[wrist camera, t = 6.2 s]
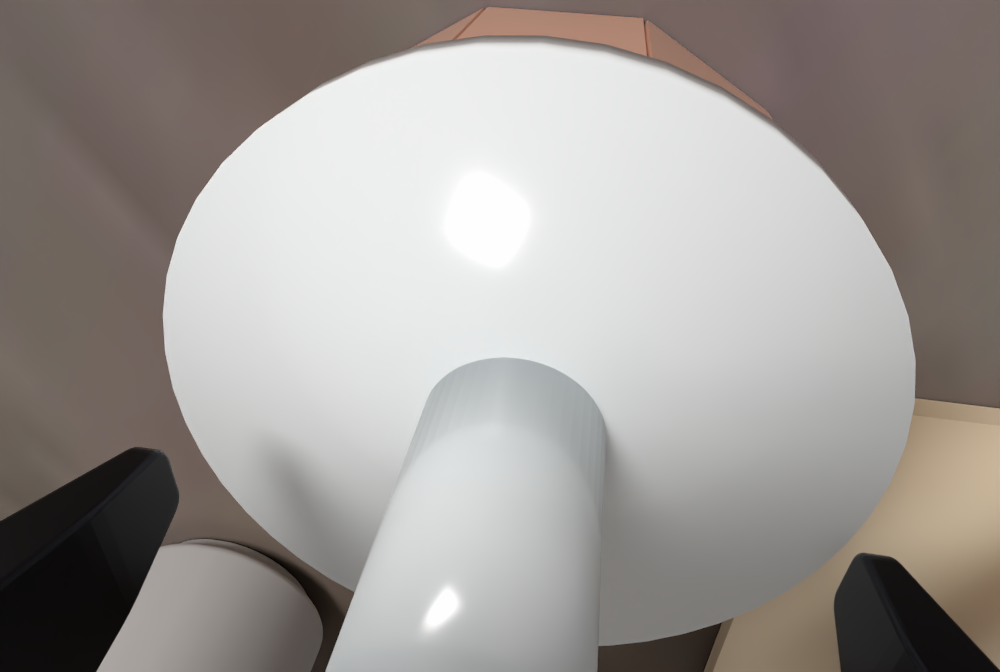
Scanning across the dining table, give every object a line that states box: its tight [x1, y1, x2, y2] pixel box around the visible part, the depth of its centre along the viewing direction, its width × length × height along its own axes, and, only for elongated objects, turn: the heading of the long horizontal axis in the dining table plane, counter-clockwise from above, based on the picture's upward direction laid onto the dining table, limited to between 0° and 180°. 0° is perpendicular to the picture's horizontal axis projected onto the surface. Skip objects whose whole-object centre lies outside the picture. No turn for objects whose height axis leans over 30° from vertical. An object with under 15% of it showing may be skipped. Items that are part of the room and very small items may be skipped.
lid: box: [163, 35, 916, 672], centre depth 9 cm, size 11×11×5 cm
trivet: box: [704, 398, 1000, 672], centre depth 18 cm, size 12×12×1 cm
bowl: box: [412, 7, 772, 119], centre depth 13 cm, size 10×10×4 cm
